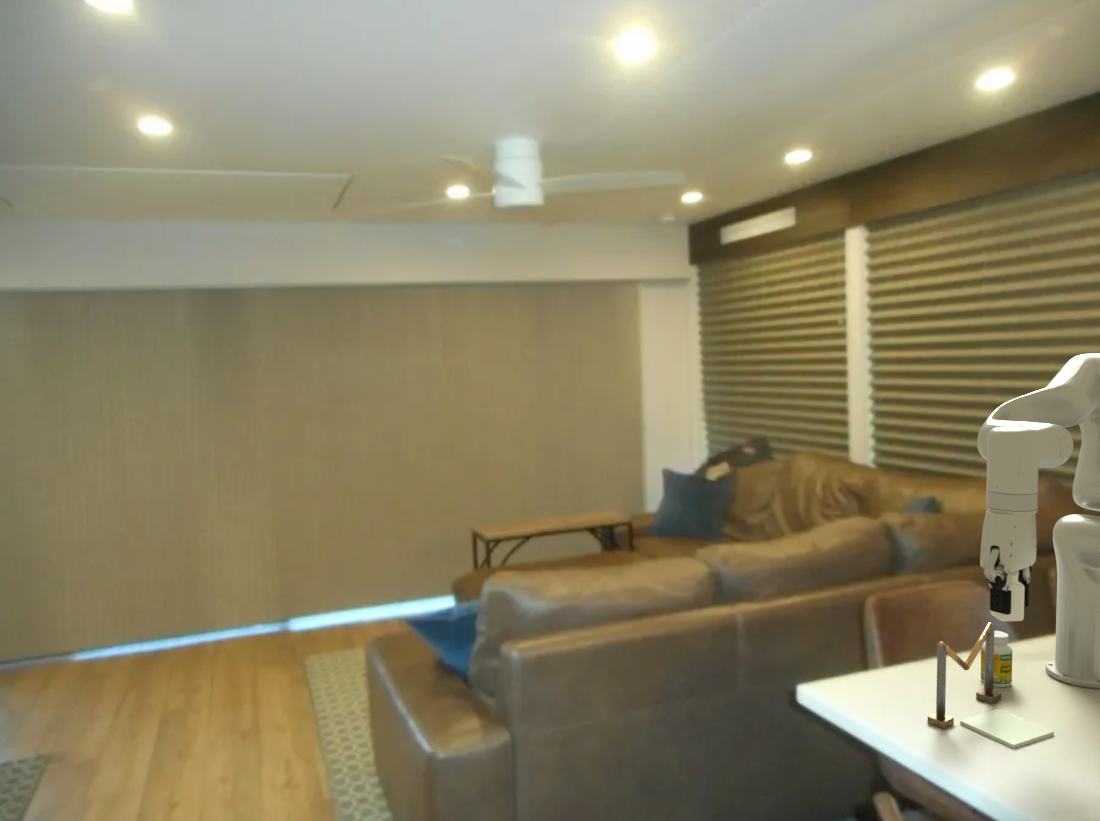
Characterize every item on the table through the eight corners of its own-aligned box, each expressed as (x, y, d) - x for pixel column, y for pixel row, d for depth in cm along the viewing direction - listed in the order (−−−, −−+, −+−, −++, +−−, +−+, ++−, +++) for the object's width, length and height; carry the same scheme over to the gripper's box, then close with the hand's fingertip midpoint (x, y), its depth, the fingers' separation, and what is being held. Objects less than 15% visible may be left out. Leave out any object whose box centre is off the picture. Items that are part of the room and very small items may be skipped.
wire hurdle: (984, 694, 158) (986, 618, 157) (1000, 700, 156) (1002, 622, 154) (927, 723, 147) (928, 641, 146) (944, 729, 145) (945, 646, 143)
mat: (999, 712, 151) (999, 708, 151) (1053, 735, 142) (1054, 731, 142) (960, 723, 146) (960, 720, 146) (1013, 748, 137) (1013, 744, 137)
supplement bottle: (989, 674, 167) (990, 627, 166) (1017, 683, 163) (1018, 634, 162) (974, 681, 164) (975, 632, 163) (1002, 690, 160) (1003, 640, 159)
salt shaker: (1025, 622, 141) (1026, 565, 140) (1001, 622, 141) (1002, 566, 140) (1012, 614, 145) (1013, 559, 144) (988, 614, 145) (989, 560, 144)
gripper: (1014, 492, 149) (1011, 593, 150) (961, 505, 139) (960, 613, 141) (1059, 498, 143) (1057, 604, 144) (1008, 512, 133) (1006, 625, 134)
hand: (1009, 607), depth 142 cm, fingers closed on salt shaker, 5 cm apart
